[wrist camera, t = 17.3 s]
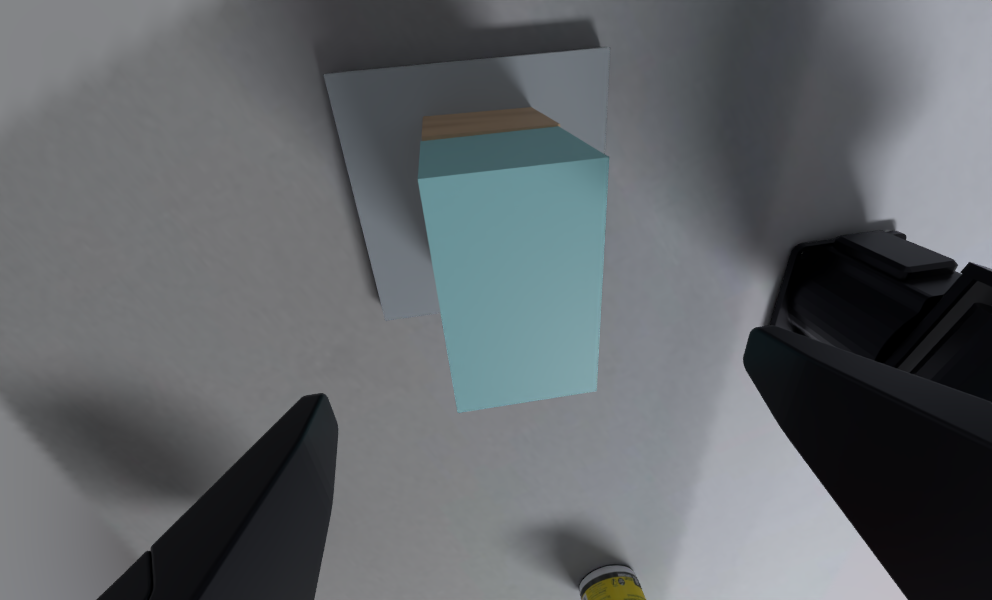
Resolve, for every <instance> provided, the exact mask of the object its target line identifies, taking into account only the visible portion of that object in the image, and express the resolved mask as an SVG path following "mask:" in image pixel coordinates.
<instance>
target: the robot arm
mask: <svg viewBox="0 0 992 600" xmlns="http://www.w3.org/2000/svg"><path fill="white" fill-rule="evenodd" d="M803 251H804V252H803ZM802 252H803V253H802ZM801 253H802V254H801ZM957 266H958V264H957V263H956V262H955V260H953V259H951V258H949V257H946V256H944V255H941V254H939V253H936V252H934V251H931V250H929V249H926V248H924V247H922V246H919V245H917V244H914V243H912V242H909V241H907V240H906V235H905V234H903V233H901V232H898V231H889V232H885V231H881V230H880V231H872V232H865V233H857V234H850V235H843V236H840V237H837V238H836V239H830V240H823V241H815V242H808V243H802V244H798V245H797V246H795V248H794V249H793V250H792V252H791V255H790V258H789V262H788V265H787V268H786V272H785V275H784V279H783V282H782V285H781V289H780V292H779V295H778V299H777V302H776V306H775V309H774V312H773V316H772V319H771V323H770V325H769V326H762V327H756V328H754V329H752V331H751V332H750V334H749V338H748V342H747V345H746V349H745V353H744V357H743V363H744V367H745V369H746V371H747V373H748V374H749V376H750V378H751V379H752V381H753V383H754V384H755V386H756V388H757V389H758V391H759V393H760V394H761V396H762V398H763V399H764V401H765V403H766V404H767V406H768V408H769V409H770V411H771V413H772V414H773V416H774V418H775V419H776V421H777V423H778V424H779V426H780V427H781V429H782V430H783V432H784V433H785V435H786V436H787V437H788V439H789V440H790V441H791V443H792V444H793V446H794V447H795V448H796V450H797V451H798V452H799V454H800V455H801V456H802V458H803V459H804V460H805V462H806V463H807V464H808V466H809V467H810V468H811V470H812V471H813V473H814V474H815V475H816V477H817V478H818V479H819V481H820V482H821V483H822V485H823V486H824V487H825V489H826V490H827V491H828V493H829V494H830V495H831V497H832V498H833V499H834V501H835V502H836V504H837V505H838V506H839V508H840V509H841V510H842V512H843V513H844V514H845V516H846V517H847V518H848V520H849V521H850V522H851V524H852V525H853V526H854V528H855V529H856V530H857V532H858V533H859V535H860V536H861V537H862V539H863V540H864V541H865V542H866V544H867V545H868V547H869V548H870V549H871V551H872V552H873V553H874V555H875V556H876V557H877V559H878V560H879V561H880V563H881V564H882V566H883V567H884V568H885V570H886V571H887V572H888V573H889V575H890V576H891V578H892V579H893V580H894V582H895V583H896V584H897V586H898V587H899V588H900V590H901V591H902V593H903V594H904V595H905V596H906V598H907V599H908V600H992V269H990V268H987V267H984V266H981V265H978V264H975V263H971V262H969V263H968V264H967V265H966V266H965V268H964V269H963V270H962V271H961V272H960V273H962V274H960V273H958V272H956V271H955V270H956V268H957ZM337 443H338V424H337V421H336V418H335V415H334V413H333V410H332V407H331V405H330V402H329V399H328V397H327V396H326V395H325V394H323V393H318V394H312V395H306V396H303V397H302V398H301V399H300V400H299V401H298V402H297V403H296V404H295V405H294V406H293V407H291V408H290V409H289V410H288V411H287V412H286V413H285V414H284V415H283V416H282V417H281V418H280V419H279V420H278V421H277V422H276V423H275V424H274V425H273V426H272V427H271V428H270V429H269V430H268V431H267V432H266V433H265V434H264V435H263V436H262V437H261V438H260V439H259V440H258V441H257V442H256V443H255V444H254V445H253V446H252V447H251V448H250V449H249V450H248V451H247V452H246V453H245V454H244V455H243V456H242V457H241V458H240V459H239V460H238V461H237V462H236V463H235V464H234V465H233V466H232V467H231V468H230V469H229V470H228V471H227V472H226V473H225V474H224V475H223V476H222V477H221V478H220V479H219V480H218V481H217V482H216V483H215V484H214V485H213V486H212V487H211V488H210V489H209V490H208V491H207V492H206V493H205V494H204V495H203V496H202V497H201V498H200V499H199V500H198V501H197V502H196V503H195V504H194V505H193V506H192V507H191V508H190V509H189V510H187V511H186V512H185V513H184V514H183V515H182V516H181V517H180V518H179V519H178V520H177V521H176V522H175V523H174V524H173V525H172V526H171V527H170V528H169V529H168V530H167V531H166V532H165V533H164V534H163V535H162V536H161V537H160V538H159V539H158V540H157V541H156V542H155V543H154V544H153V545H152V546H151V551H146V552H145V553H144V554H143V555H142V556H141V557H140V558H139V559H138V560H137V561H136V562H135V563H134V564H133V565H132V566H131V567H130V568H129V569H128V570H127V571H126V572H125V573H124V574H123V575H122V576H121V577H120V578H119V579H117V580H116V581H115V582H114V583H113V585H111V586H110V587H109V588H108V589H107V590H106V591H105V592H104V593H103V594H102V595H101V596H100V597H99V598H98V599H97V600H314V598H315V593H316V588H317V583H318V577H319V572H320V567H321V562H322V557H323V552H324V547H325V542H326V537H327V532H328V527H329V521H330V516H331V510H332V503H333V494H334V481H335V468H336V455H337Z"/></svg>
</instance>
